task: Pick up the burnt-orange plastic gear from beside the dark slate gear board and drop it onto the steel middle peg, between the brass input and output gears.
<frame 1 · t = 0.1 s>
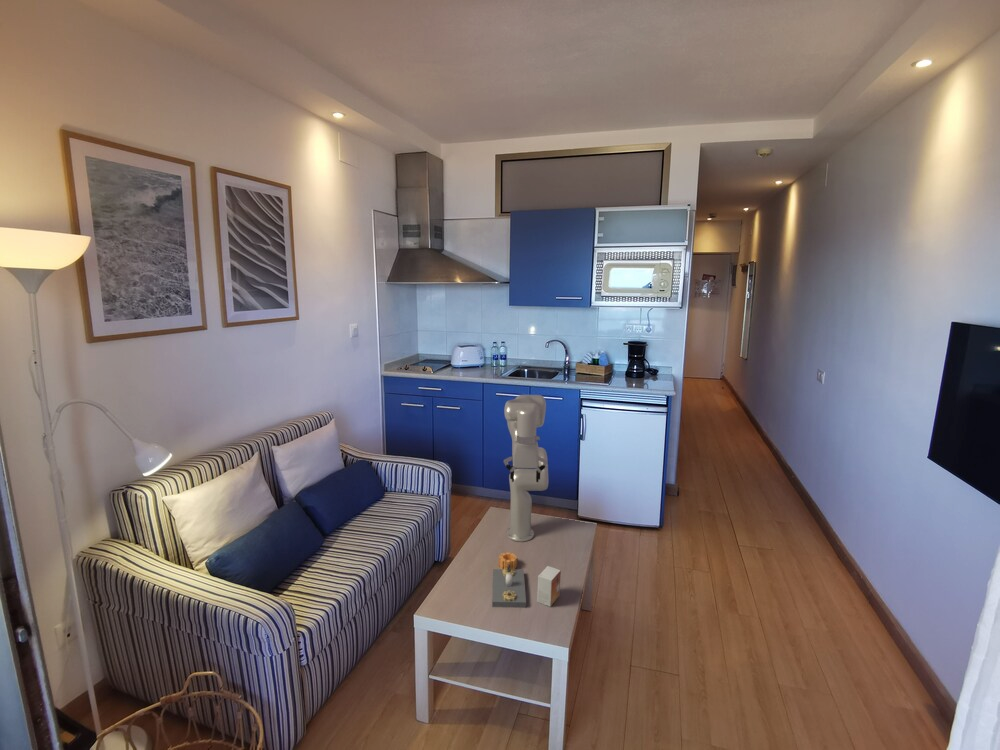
hand: (525, 480, 194), 37 cm above the table, tool pointing down, fingers open, 9 cm apart
small box: (548, 599, 180), on the table
board: (508, 589, 184), on the table
gear: (507, 566, 200), on the table
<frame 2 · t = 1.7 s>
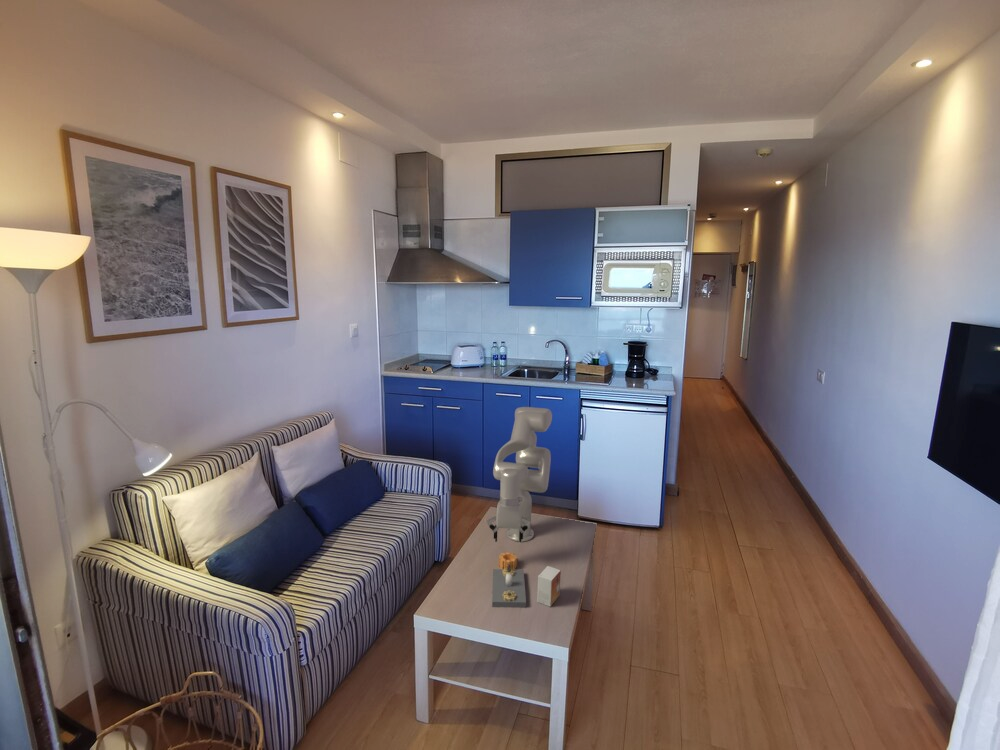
hand: (508, 540, 197), 12 cm above the table, tool pointing down, fingers open, 9 cm apart
nothing on the table moved.
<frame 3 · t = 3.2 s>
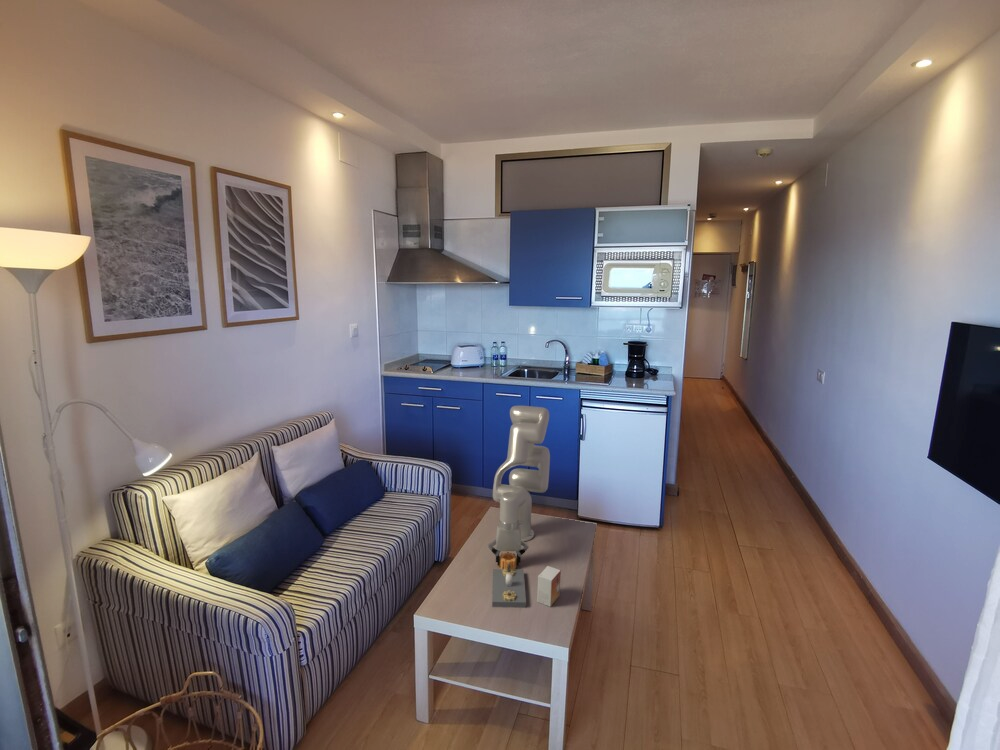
hand: (507, 563, 199), 1 cm above the table, tool pointing down, fingers closed on gear, 7 cm apart
gear: (507, 566, 200), on the table, touching gripper
everything else where it was.
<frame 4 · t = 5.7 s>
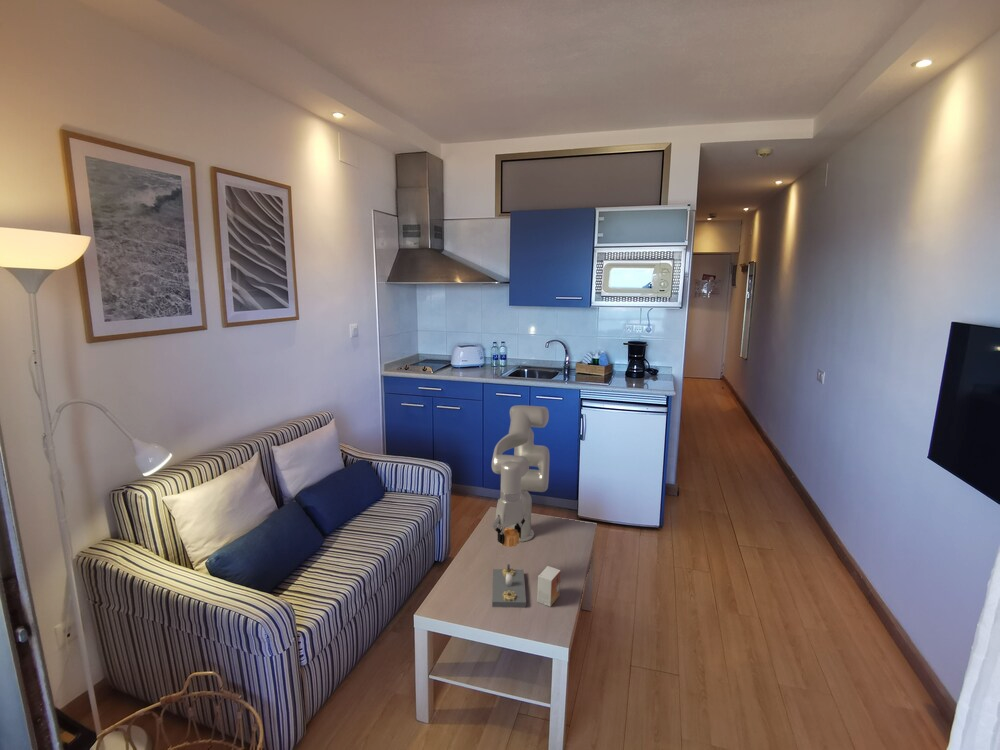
hand: (509, 539, 184), 19 cm above the table, tool pointing down, fingers closed on gear, 7 cm apart
gear: (509, 542, 185), point 17 cm above the table, touching gripper
everything else where it was.
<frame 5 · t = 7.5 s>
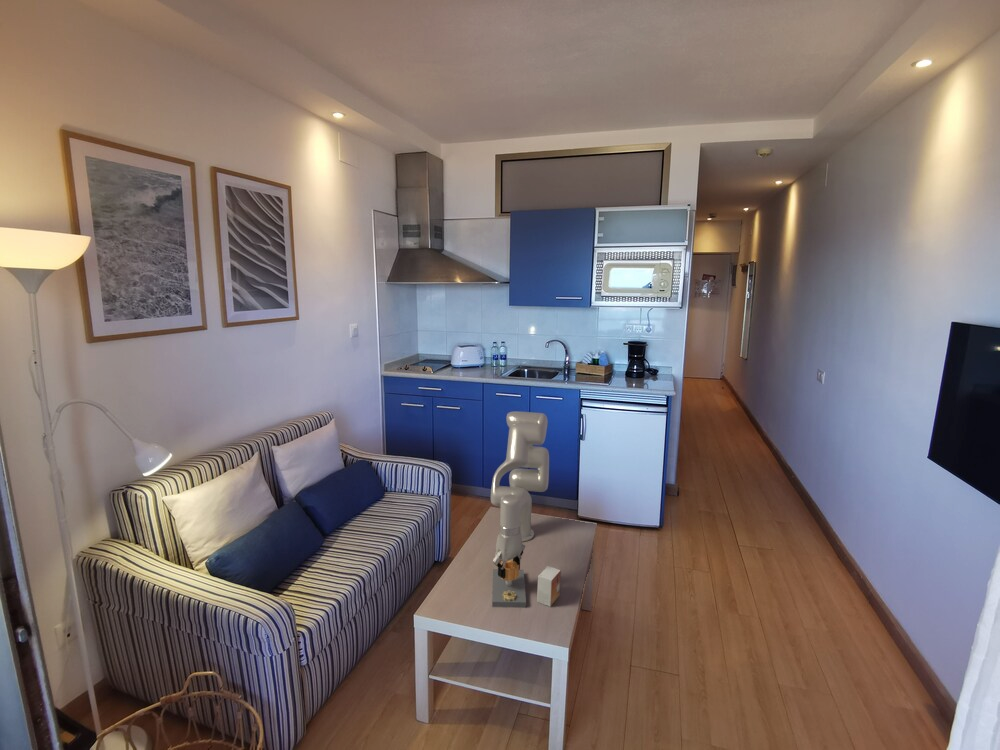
hand: (508, 572, 183), 7 cm above the table, tool pointing down, fingers closed on gear, 7 cm apart
gear: (508, 575, 183), point 6 cm above the table, touching gripper
everything else where it was.
when the fingers open (4 cm above the table, at t = 8.6 s): gear drops 1 cm, resting on board.
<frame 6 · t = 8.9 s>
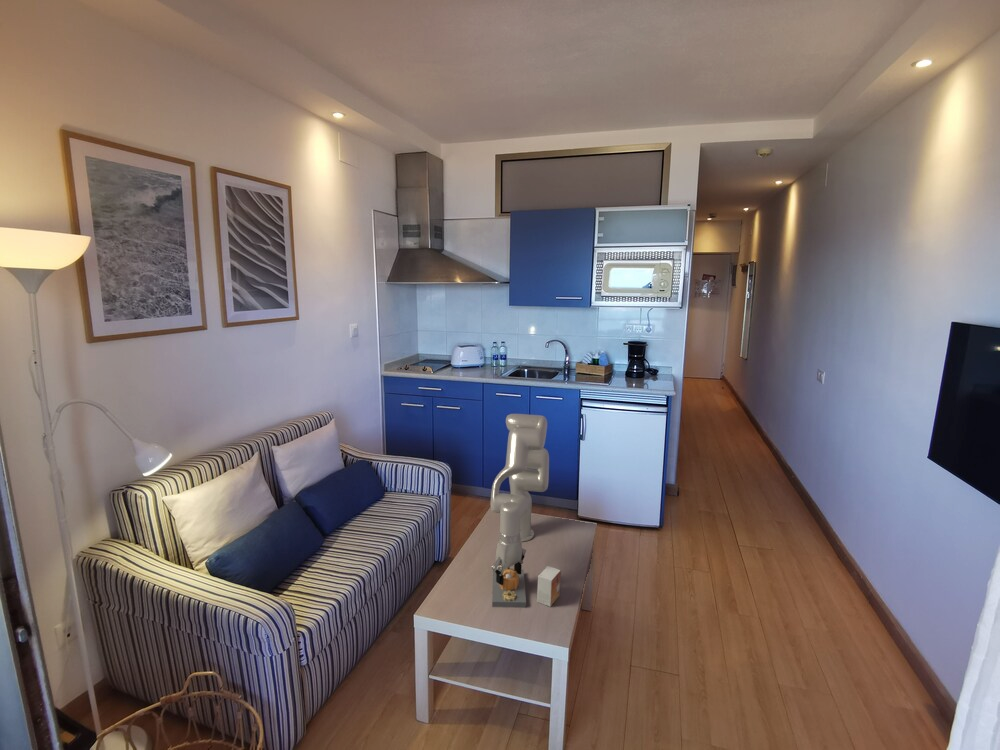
hand: (508, 578, 183), 5 cm above the table, tool pointing down, fingers open, 9 cm apart
gear: (508, 584, 184), point 2 cm above the table, touching board
everything else where it was.
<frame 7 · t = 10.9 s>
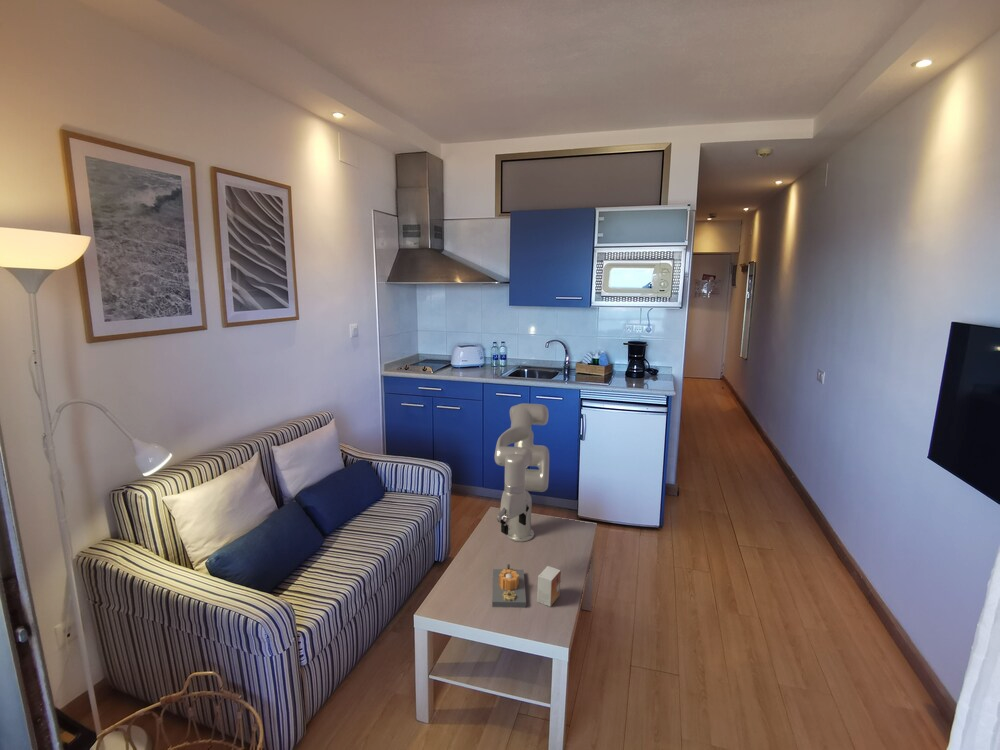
hand: (513, 528, 186), 22 cm above the table, tool pointing down, fingers open, 9 cm apart
nothing on the table moved.
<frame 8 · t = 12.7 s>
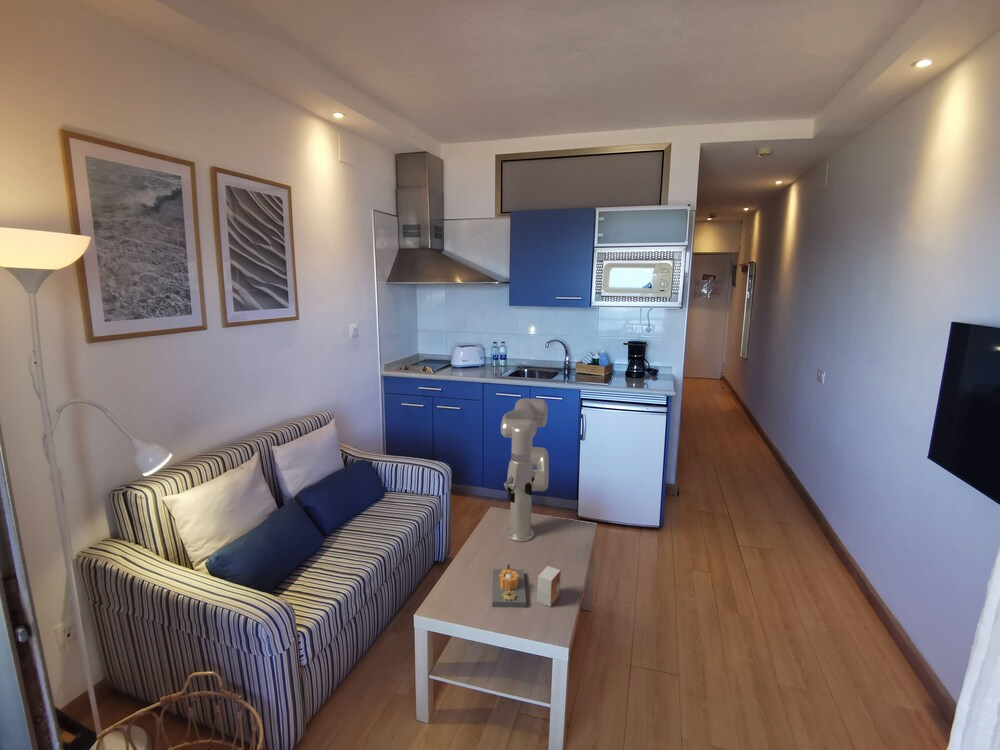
hand: (519, 497, 193), 30 cm above the table, tool pointing down, fingers open, 9 cm apart
nothing on the table moved.
at the end: gear 0.1 cm off-centre on the board, point 2.0 cm above the board's base; gear tilted 0°; the gripper is holding nothing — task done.
